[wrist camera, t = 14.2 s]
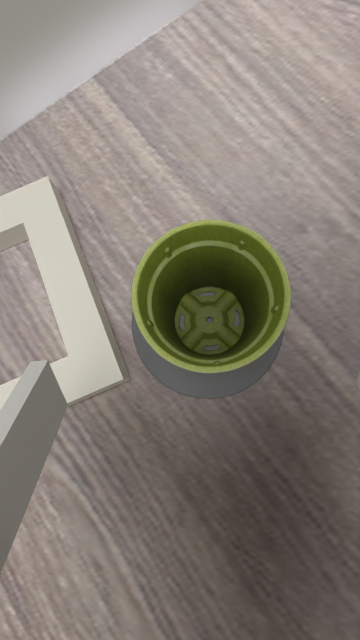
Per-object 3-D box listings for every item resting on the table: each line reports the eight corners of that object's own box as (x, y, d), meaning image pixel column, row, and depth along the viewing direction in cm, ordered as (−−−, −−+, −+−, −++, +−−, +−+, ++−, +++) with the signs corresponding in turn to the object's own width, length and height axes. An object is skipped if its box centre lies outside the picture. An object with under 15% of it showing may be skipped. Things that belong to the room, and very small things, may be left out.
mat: (242, 231, 29) (243, 227, 28) (309, 361, 26) (311, 360, 26) (113, 286, 29) (111, 284, 28) (166, 422, 26) (165, 423, 25)
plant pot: (158, 381, 26) (136, 380, 18) (150, 275, 28) (126, 228, 20) (271, 370, 26) (304, 364, 17) (255, 263, 28) (277, 209, 19)
